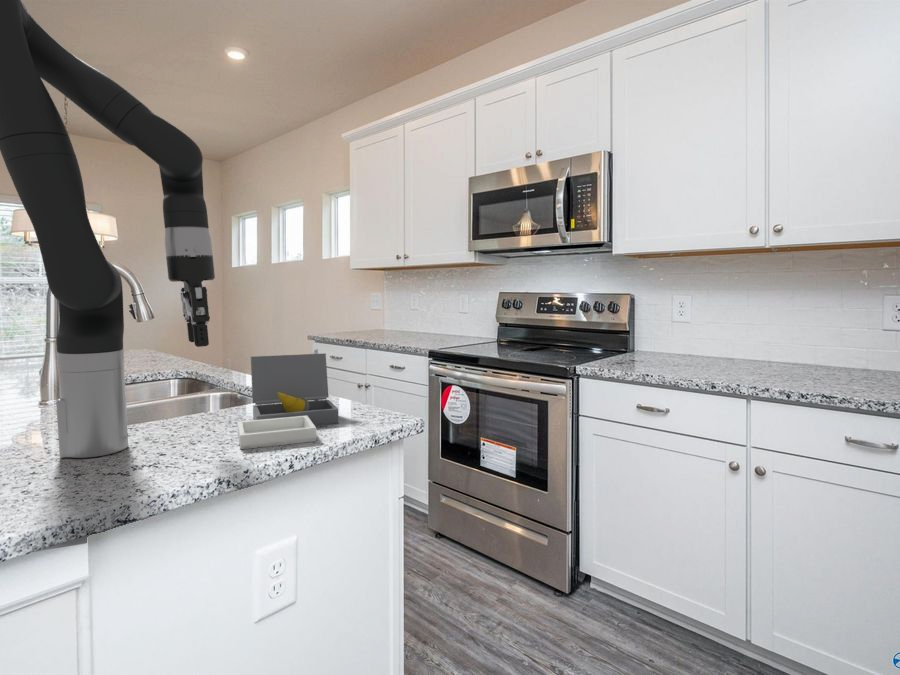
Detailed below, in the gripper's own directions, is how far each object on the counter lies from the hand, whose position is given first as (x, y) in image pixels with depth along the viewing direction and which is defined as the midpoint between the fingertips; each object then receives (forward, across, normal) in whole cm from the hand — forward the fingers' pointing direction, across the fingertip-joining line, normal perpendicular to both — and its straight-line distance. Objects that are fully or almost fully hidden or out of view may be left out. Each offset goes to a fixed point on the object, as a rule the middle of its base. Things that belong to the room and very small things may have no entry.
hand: (198, 343), depth 95 cm
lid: (+10, -9, +19) cm, 23 cm away
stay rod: (+19, -11, +25) cm, 33 cm away
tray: (+18, +7, +11) cm, 22 cm away
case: (+19, -4, +17) cm, 26 cm away
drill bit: (+19, -4, +17) cm, 26 cm away
